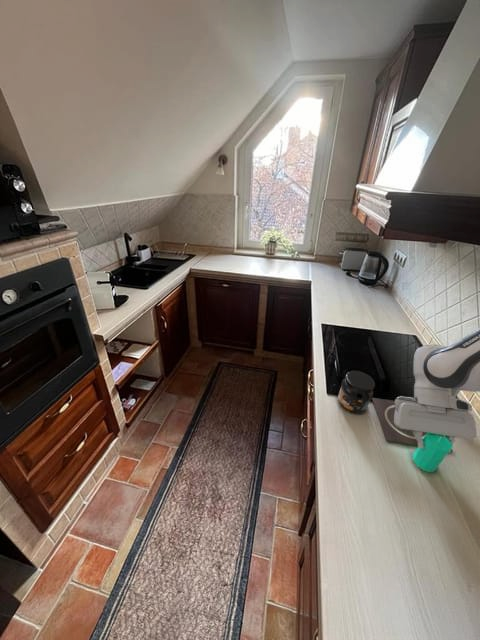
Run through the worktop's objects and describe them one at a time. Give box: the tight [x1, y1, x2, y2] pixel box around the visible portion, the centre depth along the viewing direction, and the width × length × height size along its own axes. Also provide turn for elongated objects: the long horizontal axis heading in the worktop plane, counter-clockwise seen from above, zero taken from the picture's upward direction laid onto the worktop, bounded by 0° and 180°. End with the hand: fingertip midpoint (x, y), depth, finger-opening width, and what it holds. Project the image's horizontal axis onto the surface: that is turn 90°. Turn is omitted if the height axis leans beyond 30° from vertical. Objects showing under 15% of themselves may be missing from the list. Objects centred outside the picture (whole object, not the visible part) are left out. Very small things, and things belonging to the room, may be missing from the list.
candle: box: [412, 433, 453, 473], centre depth 72 cm, size 6×6×12 cm
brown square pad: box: [371, 397, 453, 453], centre depth 87 cm, size 19×18×1 cm
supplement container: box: [337, 370, 376, 415], centre depth 91 cm, size 10×10×12 cm
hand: (434, 450), depth 71 cm, fingers closed on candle, 5 cm apart
